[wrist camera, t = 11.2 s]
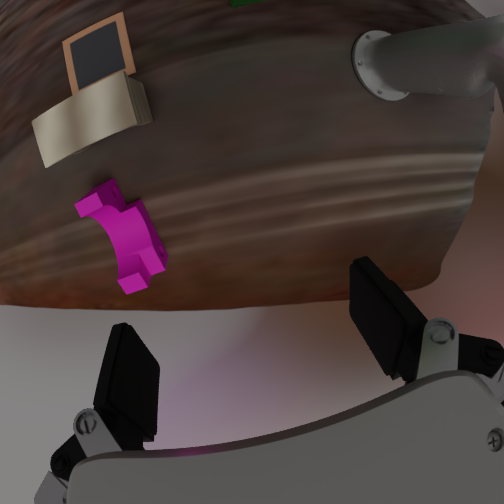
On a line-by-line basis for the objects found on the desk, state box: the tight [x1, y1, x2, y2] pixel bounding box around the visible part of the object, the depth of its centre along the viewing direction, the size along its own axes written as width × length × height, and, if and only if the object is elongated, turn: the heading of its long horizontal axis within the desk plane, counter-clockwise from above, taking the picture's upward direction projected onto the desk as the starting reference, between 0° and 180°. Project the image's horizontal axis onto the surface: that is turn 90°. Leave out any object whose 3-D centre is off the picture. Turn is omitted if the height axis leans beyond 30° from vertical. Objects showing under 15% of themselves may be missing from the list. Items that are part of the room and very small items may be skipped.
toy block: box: [75, 178, 168, 294], centre depth 35 cm, size 15×6×8 cm, turn 16°
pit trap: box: [63, 12, 136, 95], centre depth 25 cm, size 10×11×1 cm
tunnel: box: [32, 71, 154, 168], centre depth 25 cm, size 12×6×11 cm, turn 102°
